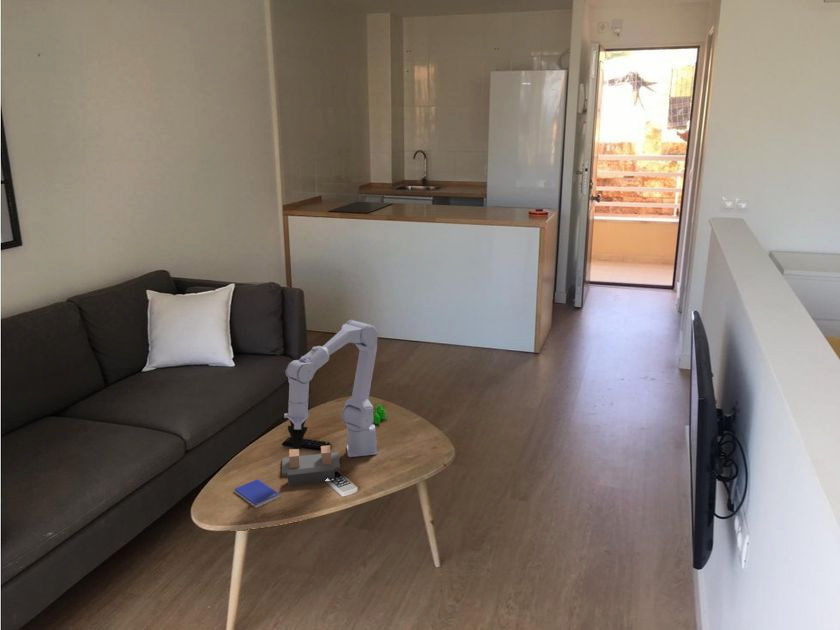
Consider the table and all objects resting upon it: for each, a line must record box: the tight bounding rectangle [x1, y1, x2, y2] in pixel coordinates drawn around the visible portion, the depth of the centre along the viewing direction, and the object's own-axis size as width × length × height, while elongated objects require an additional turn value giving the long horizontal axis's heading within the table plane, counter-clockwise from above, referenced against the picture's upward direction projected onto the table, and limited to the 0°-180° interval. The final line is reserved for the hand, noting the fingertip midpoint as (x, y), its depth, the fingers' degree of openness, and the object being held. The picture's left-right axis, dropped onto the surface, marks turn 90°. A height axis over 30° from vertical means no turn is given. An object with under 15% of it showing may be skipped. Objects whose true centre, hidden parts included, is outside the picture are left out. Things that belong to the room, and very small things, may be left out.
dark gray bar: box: [287, 465, 336, 487], centre depth 202 cm, size 14×3×4 cm, turn 100°
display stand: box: [281, 445, 341, 477], centre depth 211 cm, size 18×10×5 cm, turn 100°
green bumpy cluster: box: [372, 404, 389, 425], centre depth 243 cm, size 15×15×7 cm
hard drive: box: [234, 478, 281, 508], centre depth 196 cm, size 2×8×12 cm
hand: (296, 443), depth 200 cm, fingers open, 7 cm apart
